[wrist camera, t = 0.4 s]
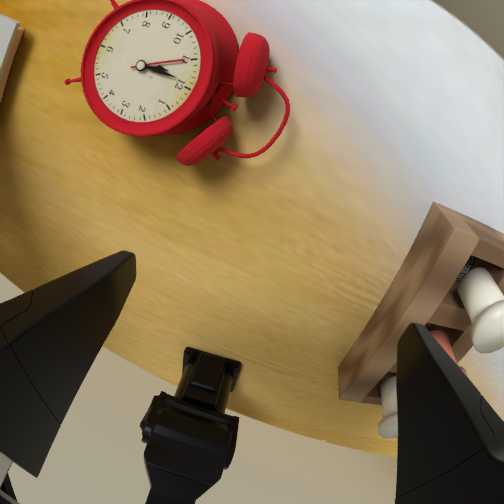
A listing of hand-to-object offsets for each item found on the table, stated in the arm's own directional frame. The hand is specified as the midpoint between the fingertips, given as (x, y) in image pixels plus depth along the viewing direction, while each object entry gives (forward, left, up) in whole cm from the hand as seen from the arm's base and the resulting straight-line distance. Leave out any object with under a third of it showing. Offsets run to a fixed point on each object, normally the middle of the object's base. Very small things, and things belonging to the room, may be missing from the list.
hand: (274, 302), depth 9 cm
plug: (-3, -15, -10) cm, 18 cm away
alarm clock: (+5, +9, -14) cm, 17 cm away
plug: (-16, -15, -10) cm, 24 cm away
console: (-9, -15, -14) cm, 23 cm away
